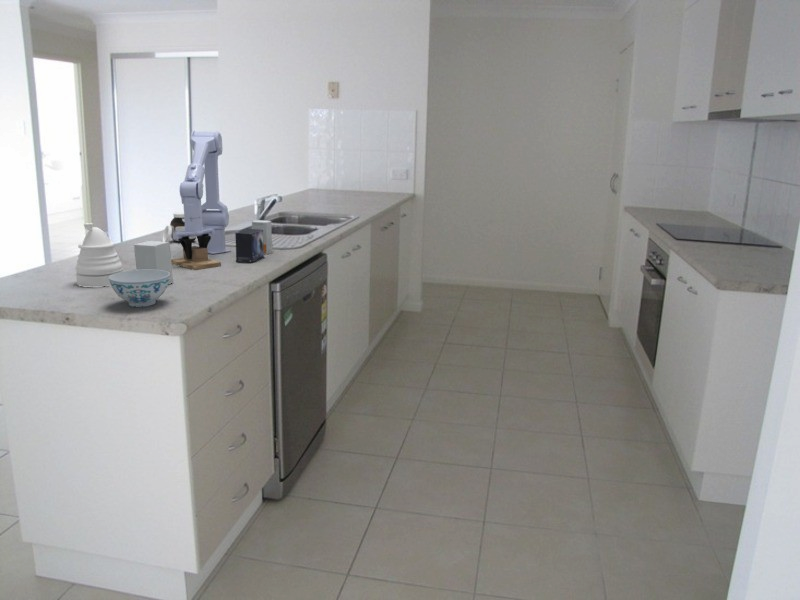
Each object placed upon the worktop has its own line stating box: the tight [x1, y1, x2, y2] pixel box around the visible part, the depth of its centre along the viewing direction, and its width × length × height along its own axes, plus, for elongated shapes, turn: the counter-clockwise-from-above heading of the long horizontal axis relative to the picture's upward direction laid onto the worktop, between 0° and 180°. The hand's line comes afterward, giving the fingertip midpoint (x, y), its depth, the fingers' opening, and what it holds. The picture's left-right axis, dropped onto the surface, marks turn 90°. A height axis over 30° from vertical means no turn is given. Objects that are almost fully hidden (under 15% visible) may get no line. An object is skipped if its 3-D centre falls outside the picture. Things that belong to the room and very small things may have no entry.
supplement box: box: [133, 240, 174, 285], centre depth 195 cm, size 7×7×13 cm
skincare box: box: [251, 219, 273, 255], centre depth 245 cm, size 6×4×12 cm
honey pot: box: [75, 222, 124, 287], centre depth 196 cm, size 13×13×18 cm
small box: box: [234, 228, 265, 264], centre depth 233 cm, size 11×6×10 cm, turn 169°
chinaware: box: [109, 269, 170, 308], centre depth 175 cm, size 15×15×8 cm
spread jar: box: [162, 211, 197, 244], centre depth 265 cm, size 12×11×12 cm
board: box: [171, 257, 222, 271], centre depth 225 cm, size 16×10×1 cm, turn 48°
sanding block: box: [182, 245, 209, 264], centre depth 224 cm, size 8×4×4 cm, turn 48°
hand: (195, 257), depth 224 cm, fingers closed on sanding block, 4 cm apart
